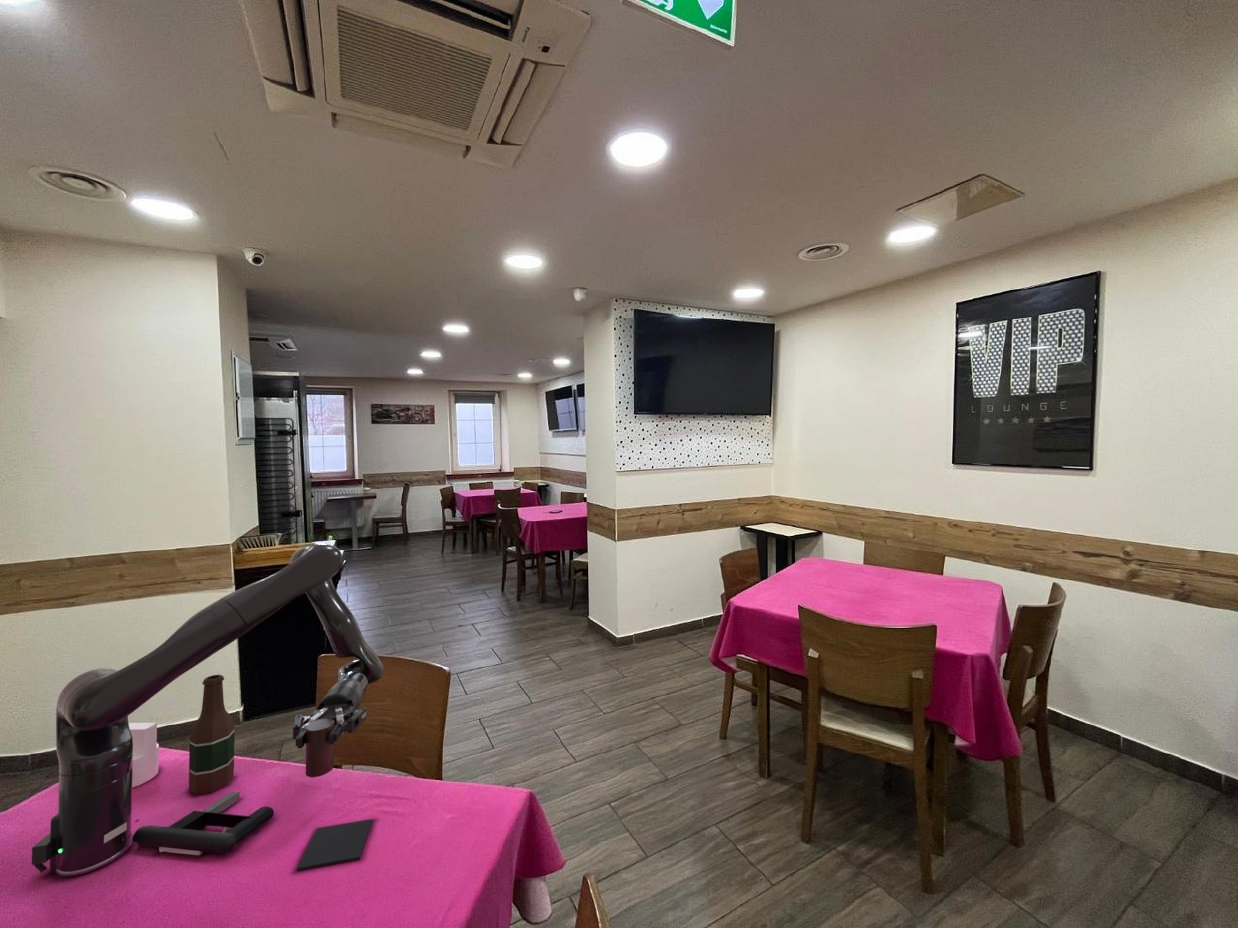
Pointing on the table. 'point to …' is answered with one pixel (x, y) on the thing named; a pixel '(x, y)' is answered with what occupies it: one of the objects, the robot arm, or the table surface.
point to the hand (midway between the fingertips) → (315, 741)
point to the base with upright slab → (144, 752)
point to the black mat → (336, 844)
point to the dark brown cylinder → (319, 748)
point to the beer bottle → (211, 742)
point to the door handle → (195, 841)
